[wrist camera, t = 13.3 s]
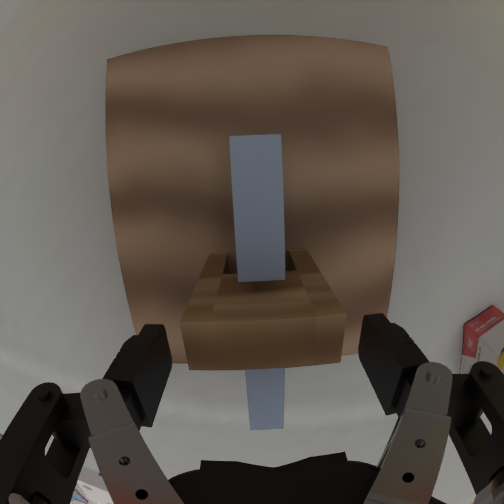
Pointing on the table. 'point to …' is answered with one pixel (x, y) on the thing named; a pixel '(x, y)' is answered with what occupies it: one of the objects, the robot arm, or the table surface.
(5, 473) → the robot arm
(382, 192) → the walnut base board
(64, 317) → the table surface
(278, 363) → the oak slotted plate
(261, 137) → the slate-blue slotted plate
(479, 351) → the ink cartridge box
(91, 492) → the bracket
